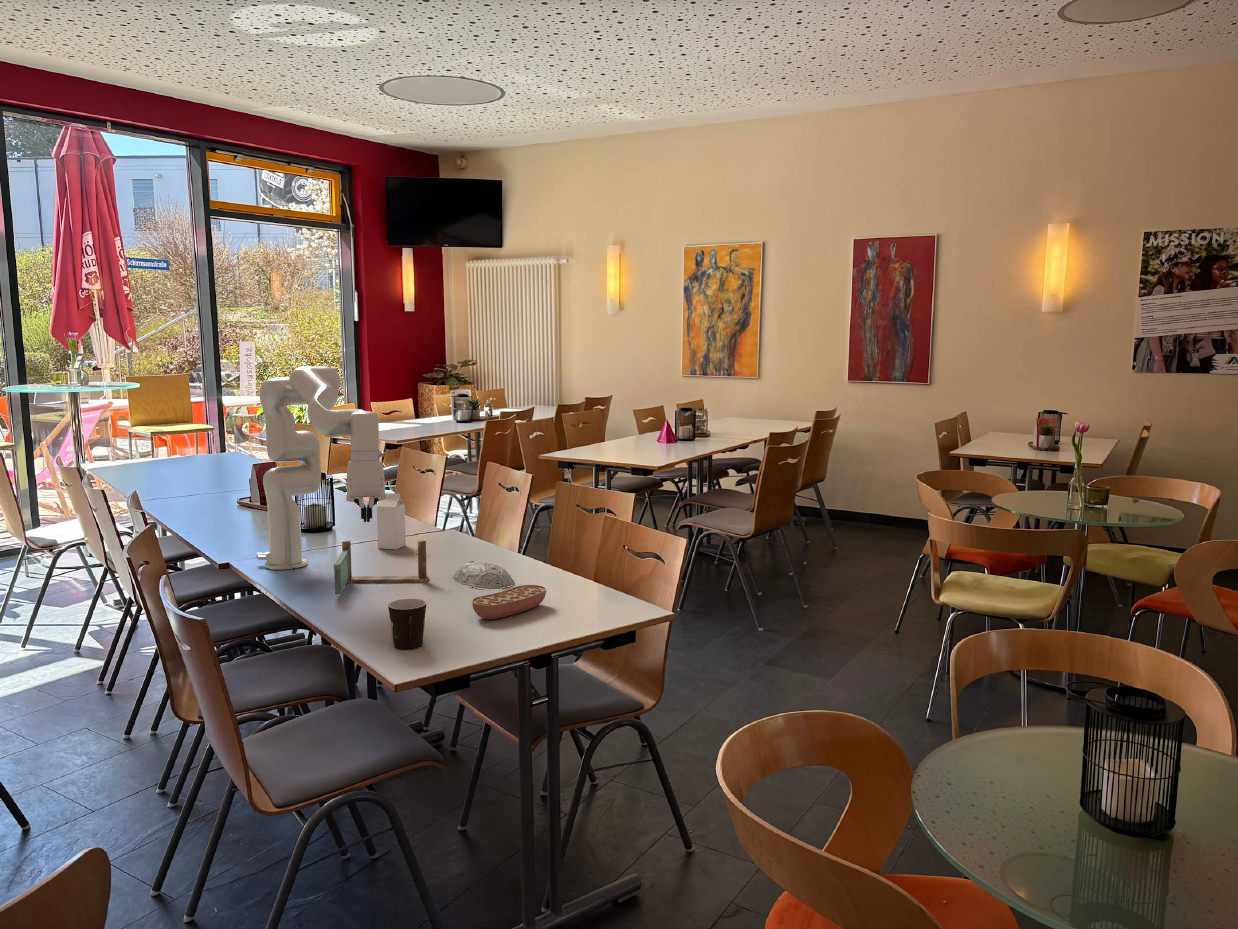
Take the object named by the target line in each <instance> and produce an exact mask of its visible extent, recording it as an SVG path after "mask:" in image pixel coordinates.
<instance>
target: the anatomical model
mask: <svg viewBox="0 0 1238 929" xmlns="http://www.w3.org/2000/svg"><path fill="white" fill-rule="evenodd" d="M546 594H547V588H546V587H545V586H542V585H538V584H522V585H521V584H520V585H517V586H514V587H510V588H509V589H505V590H502V591H499V592H494V593H491V594H485V595H482V596H476V597H475V598H474V597H473V599H472V600H471V603H472V605H471V606H472V609H473V611H474V612H475V613H476V615H477V616H478V617H480V618H481V619H484V620H489V621H490V620H491V621H492V620H496V619H501V618H504V617H509V616H512V615H517V614H520V613H523V612H527V611H528V610H530V609H534V608H536V607H537V606H539V605H540V604H541V603H542V602H543V601H544V599H545V598H546Z"/></svg>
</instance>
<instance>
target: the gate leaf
mask: <svg viewBox="0 0 1238 929" xmlns="http://www.w3.org/2000/svg"><path fill="white" fill-rule="evenodd" d="M333 573H334V574H333V576H334V579H333V580H334V595H342V593H343V590H344V588H345V586H346V584H347V583H346V582H347V580H348V579H349V550H343V551H341V553H340V554H339V556H338V557H337V559H336V561H335V563H334V564H333Z"/></svg>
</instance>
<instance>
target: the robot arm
mask: <svg viewBox="0 0 1238 929" xmlns="http://www.w3.org/2000/svg"><path fill="white" fill-rule="evenodd" d="M340 387H341V378H340V375H339V373H338V372H337V371H336V369H335V368H333V367H330V366H325V365H323V366H321V365H320V366H312V365H311V366H308V365H307V366H300V367H297V368H295V369H294V370H292V371H291V373H290V374H289V376H287V377H286V376H284V377H283V376H282V377H273V378H270V379H269V378H268V379H267V380H265V381H264V382H263V383H262V384H261V386H260V388H259V389H260V390H259V399H260V400H259V401H260V405H261V409H262V412H263V415H264V420H265V439H266V440H265V442H266V452H267V453H266V454H267V457H268V459H269V460H270V461H271V462H274V463H289V462H290V463H291V462H300V464H297V465H287V466H286V465H285V466H284V465H283V466H277V467H272V468H270V469H268V470H267V471H266V472H265V473H264V474H263V477H262V485H263V489H264V494H265V498H266V507H267V521H268V545H269V546H268V548H269V549H268V550H269V551H267V552H257V553H256V559H257V560H258V561H262V560H264V561H266V562H265V563H264V567H265V568H266V569H268V568H269V569H268V570H273V571H281V570H282V571H283V570H286V569H287V570H293V568H295V569H299V567H300V568H302V567H305V566H307V565H308V560H307V559H306V558H303V555H302V554H303V553H302V551H303V550H302V530H301V525H302V524H301V510H300V508H299V505H298V504H297V502H296V501H295V500H294V499H293V497H295V496H301V495H311V494H314V493H316V492H318V491H319V489H320V488H321V483H322V469H321V468H322V466H321V465H322V463H321V446H320V442H319V439H318V437H317V435H316V434H315V433H314V432H313V431H309V430H296V426H295V424H296V423H295V422H296V421H295V416H294V414H293V412H292V411H291V410H290V408H289V407H288V406H297V405H299V406H300V405H303V406H304V405H308V406H307V416H308V419H309V420H308V421H309V423H310V425H312V427H313V428H314V429H315V430H316V431H317V432H318V433H319V434H321V435H322V436H325V437H328V438H339V437H340V438H341V437H350V460H349V461H347V469H346V492H347V493H346V498H345V500H346V501H347V502H350V503H355V504H356V505H357V506H358V507H359V508H360V519H361V520H363V523H366V522H367V523H370V522H371V519H373V507H375V505H377V504H378V502H379V501H382V500H385V499H386V495H385V493H386V482H385V471H384V465H383V460H382V459H380V458H382V457H385V456H386V455H385V454H386V453H385V451H381V450H380V430H379V428H380V426H379V423H380V422H379V415H378V413H377V412H375V411H369V410H363V409H361V408H360V409H359V408H350V409H348V408H347V409H346V408H344V409H343V408H342V409H333V408H334V407H335V406H336V404H337V402H338V399H339V395H338V394H339V393H338V391H339V389H340ZM364 498H368V504H367V505H366V504H365V502H364ZM287 570H286V571H287Z"/></svg>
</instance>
